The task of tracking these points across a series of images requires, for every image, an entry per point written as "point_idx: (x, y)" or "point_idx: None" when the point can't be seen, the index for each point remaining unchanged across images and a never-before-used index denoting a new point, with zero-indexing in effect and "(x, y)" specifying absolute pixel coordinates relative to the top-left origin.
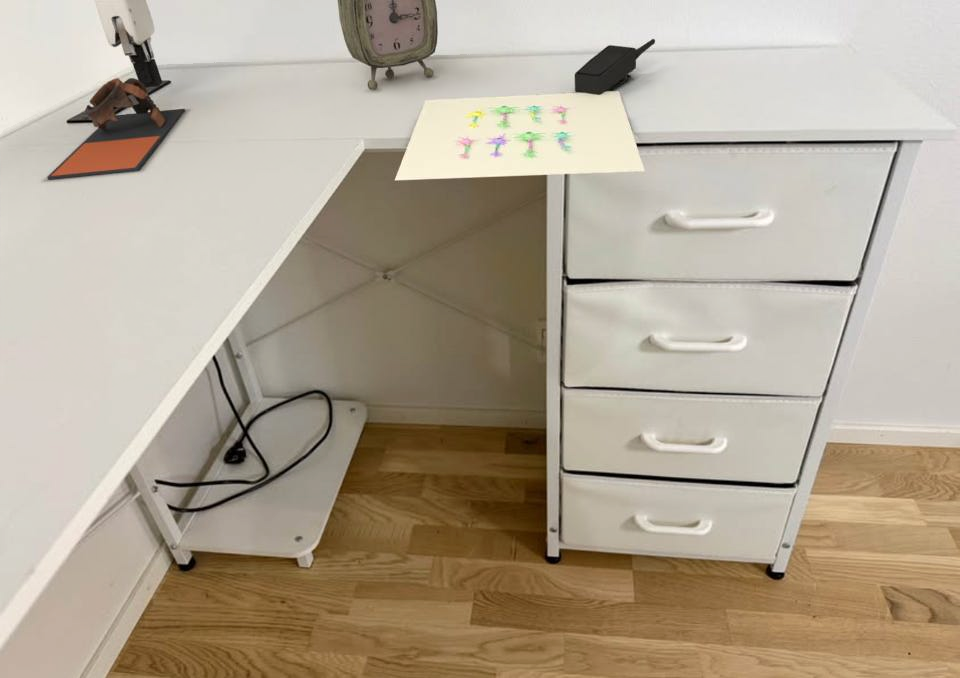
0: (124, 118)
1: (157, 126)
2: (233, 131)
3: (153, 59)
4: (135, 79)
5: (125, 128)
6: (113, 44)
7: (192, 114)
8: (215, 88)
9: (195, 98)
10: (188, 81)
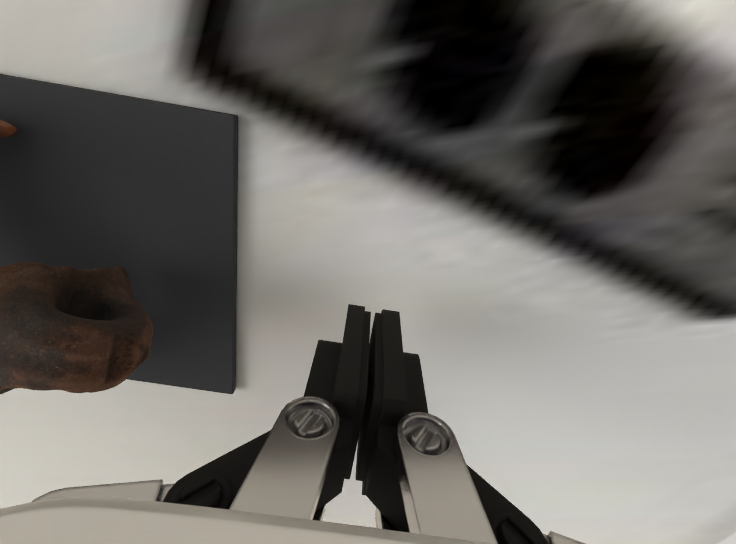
0: (164, 192)
1: None
2: (7, 491)
3: (363, 493)
4: (59, 389)
5: (22, 216)
6: (92, 521)
7: (189, 407)
8: (478, 457)
9: None
10: (668, 380)
